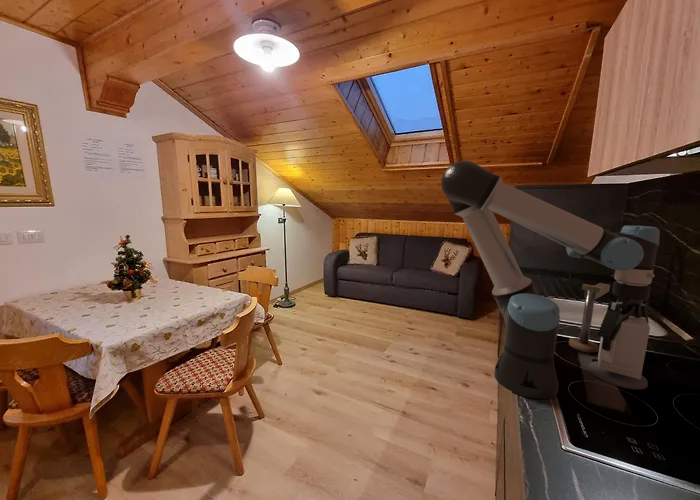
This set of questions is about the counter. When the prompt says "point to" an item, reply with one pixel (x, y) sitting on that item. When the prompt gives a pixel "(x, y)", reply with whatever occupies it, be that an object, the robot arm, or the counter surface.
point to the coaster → (617, 378)
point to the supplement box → (628, 348)
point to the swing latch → (590, 307)
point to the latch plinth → (583, 345)
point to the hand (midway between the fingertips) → (619, 356)
